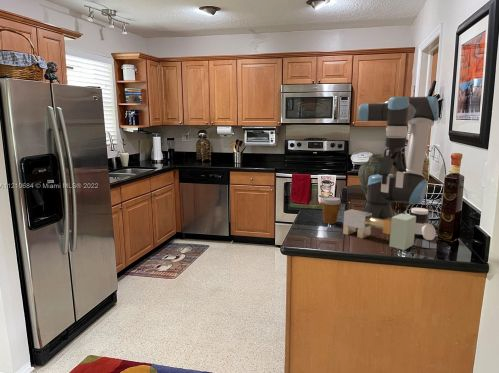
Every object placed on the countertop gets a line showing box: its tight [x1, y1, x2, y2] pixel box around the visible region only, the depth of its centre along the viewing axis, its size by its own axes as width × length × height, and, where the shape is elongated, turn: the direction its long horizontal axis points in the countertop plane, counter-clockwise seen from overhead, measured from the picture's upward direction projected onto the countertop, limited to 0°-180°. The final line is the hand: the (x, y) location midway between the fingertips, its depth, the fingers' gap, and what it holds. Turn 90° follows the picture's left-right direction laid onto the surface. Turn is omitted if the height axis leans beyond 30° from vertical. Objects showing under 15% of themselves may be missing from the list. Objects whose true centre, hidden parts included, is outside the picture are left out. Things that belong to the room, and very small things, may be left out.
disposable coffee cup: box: [320, 196, 342, 225], centre depth 178 cm, size 10×10×12 cm
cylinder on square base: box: [365, 216, 392, 235], centre depth 152 cm, size 5×20×6 cm, turn 45°
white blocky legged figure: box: [342, 208, 372, 239], centre depth 159 cm, size 7×10×10 cm
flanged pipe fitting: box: [409, 207, 437, 241], centre depth 157 cm, size 12×11×12 cm
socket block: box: [388, 212, 416, 251], centre depth 145 cm, size 9×6×12 cm, turn 135°
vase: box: [357, 153, 398, 200], centre depth 218 cm, size 22×22×30 cm
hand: (391, 189), depth 147 cm, fingers open, 13 cm apart
